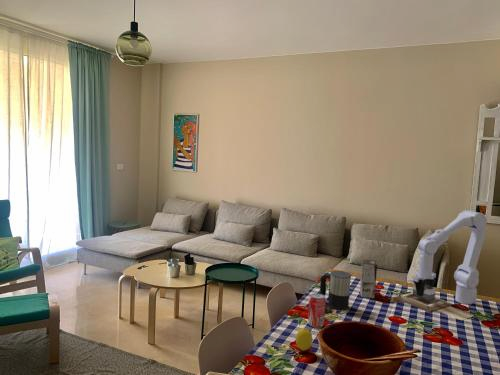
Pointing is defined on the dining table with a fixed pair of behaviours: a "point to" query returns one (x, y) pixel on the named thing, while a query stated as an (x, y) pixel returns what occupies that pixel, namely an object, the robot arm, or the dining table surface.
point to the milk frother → (336, 290)
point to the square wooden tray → (422, 302)
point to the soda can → (316, 310)
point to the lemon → (304, 339)
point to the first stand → (455, 313)
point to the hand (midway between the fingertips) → (423, 294)
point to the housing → (426, 293)
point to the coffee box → (368, 278)
